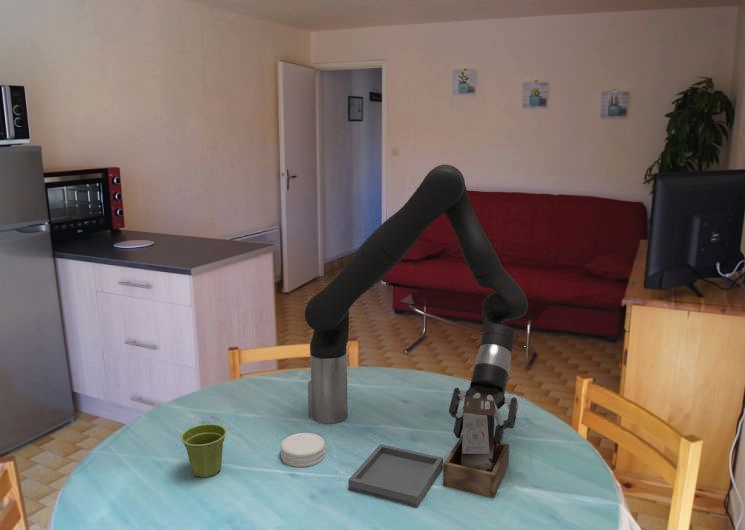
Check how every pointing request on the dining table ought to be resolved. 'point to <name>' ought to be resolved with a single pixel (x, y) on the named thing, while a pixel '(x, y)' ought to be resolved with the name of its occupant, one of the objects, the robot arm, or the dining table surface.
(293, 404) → the dining table surface
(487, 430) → the coffee box
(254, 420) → the dining table surface
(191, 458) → the plant pot
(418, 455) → the tray
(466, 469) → the wooden frame
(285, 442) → the coaster
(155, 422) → the dining table surface
